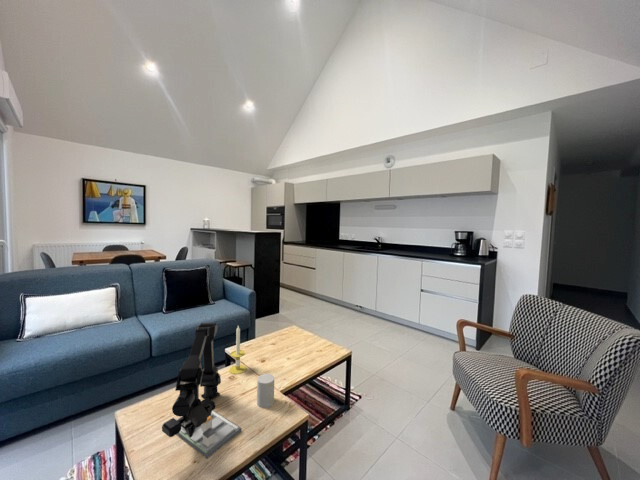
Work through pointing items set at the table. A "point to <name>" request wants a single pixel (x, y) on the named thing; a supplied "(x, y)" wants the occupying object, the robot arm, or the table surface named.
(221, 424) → the panel
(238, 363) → the candle
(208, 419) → the toggle mid
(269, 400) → the grey cylinder
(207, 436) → the toggle right
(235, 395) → the table surface
